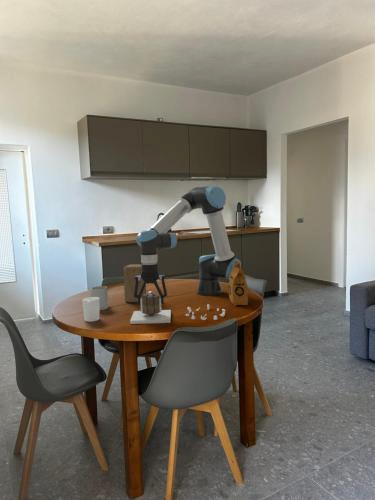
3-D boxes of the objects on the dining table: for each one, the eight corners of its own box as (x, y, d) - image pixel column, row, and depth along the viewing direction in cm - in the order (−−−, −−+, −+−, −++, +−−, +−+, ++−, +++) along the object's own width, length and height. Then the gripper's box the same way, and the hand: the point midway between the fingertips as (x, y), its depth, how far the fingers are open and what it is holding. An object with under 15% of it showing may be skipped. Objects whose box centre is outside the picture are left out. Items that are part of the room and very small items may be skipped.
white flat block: (170, 312, 183) (170, 309, 183) (170, 322, 167) (170, 319, 167) (134, 314, 183) (133, 311, 183) (130, 324, 167) (130, 320, 167)
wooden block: (141, 302, 205) (140, 266, 203) (124, 302, 207) (122, 266, 205) (147, 298, 214) (145, 264, 212) (130, 298, 216) (129, 264, 214)
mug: (105, 310, 191) (104, 289, 189) (89, 310, 192) (87, 289, 190) (112, 304, 202) (111, 284, 201) (97, 304, 204) (96, 284, 202)
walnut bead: (160, 309, 179) (159, 293, 178) (159, 314, 171) (158, 297, 170) (143, 309, 179) (142, 293, 178) (142, 314, 171) (141, 297, 170)
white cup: (85, 317, 179) (83, 297, 178) (101, 316, 179) (100, 296, 178) (81, 322, 171) (80, 301, 170) (99, 321, 172) (98, 300, 171)
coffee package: (230, 306, 192) (229, 264, 190) (228, 300, 205) (227, 261, 202) (249, 306, 192) (249, 264, 190) (246, 300, 204) (246, 260, 202)
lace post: (154, 314, 176) (153, 291, 175) (153, 315, 174) (152, 292, 173) (149, 314, 176) (148, 291, 175) (148, 315, 174) (147, 292, 173)
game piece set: (177, 316, 179) (176, 308, 179) (205, 307, 193) (205, 300, 192) (206, 324, 165) (206, 315, 165) (235, 314, 179) (235, 306, 179)
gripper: (125, 265, 168) (128, 314, 171) (171, 264, 169) (173, 312, 171) (127, 263, 176) (129, 310, 178) (172, 261, 176) (173, 308, 179)
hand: (151, 311), depth 175 cm, fingers closed on walnut bead, 8 cm apart
